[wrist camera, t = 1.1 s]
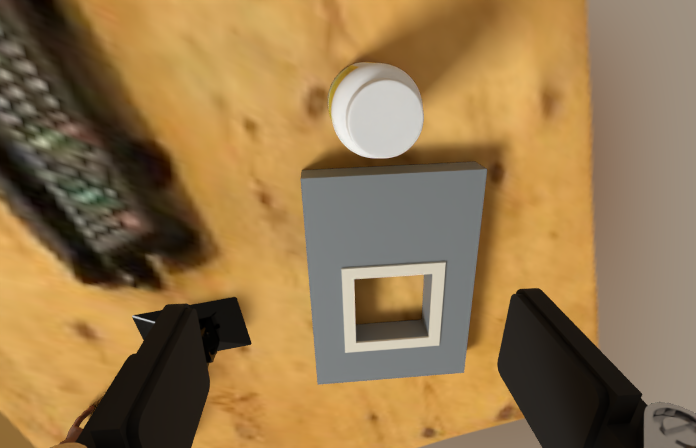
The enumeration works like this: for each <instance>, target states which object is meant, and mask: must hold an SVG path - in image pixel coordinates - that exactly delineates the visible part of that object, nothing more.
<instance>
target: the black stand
mask: <svg viewBox="0 0 696 448" xmlns="http://www.w3.org/2000/svg"><path fill="white" fill-rule="evenodd" d="M189 306H190V309H193V308H194V309H196V311H197V316H198V321H199V326H200V331H201V337H202V342H203V347H204V352H205V357H206V363H207V368H208V366H209V363H211V362H213V361H214V358H215V355H216V354H217V351H220V350H225V349H231V348H236V347H241V346H246V345H251V340H250V337H249V334H248V331H247V328H246V325H245V322H244V319H243V316H242V313H241V310H240V307H239V304H238V301H237V298H236V297H232V298H226V299H221V300H215V301H210V302H204V303H199V304H193V305H189ZM161 312H162V310H160V311H155V312H149V313H144V314H139V315H133V316H132V318H133V320H134V322H135V324H136V326H137V328H138V330H139V332H140V334H141V336H142V338H143V340H145V338H146V336H147V335H148V333H149V331H150V330H151V328H152V326H153V325H154V323H155V322H156V320H157V318H158V317H159V315H160V313H161Z"/></svg>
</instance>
